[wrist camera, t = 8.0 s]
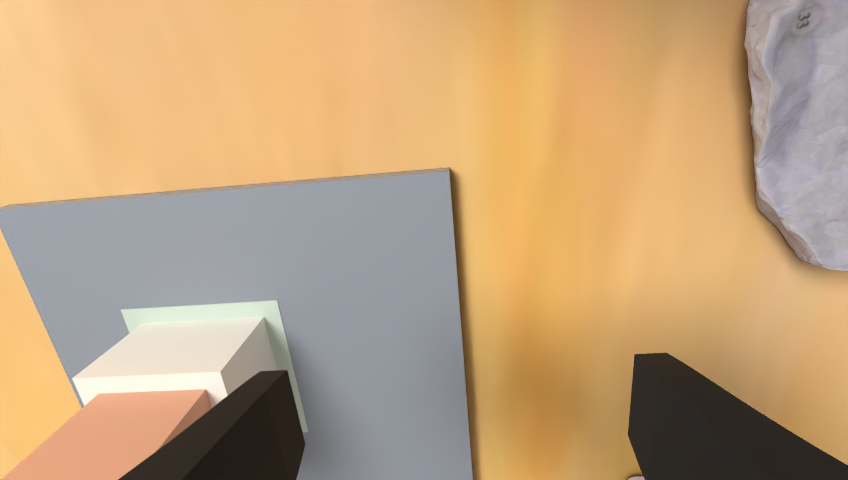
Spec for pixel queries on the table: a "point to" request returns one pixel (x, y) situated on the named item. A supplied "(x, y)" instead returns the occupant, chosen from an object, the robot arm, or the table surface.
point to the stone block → (801, 123)
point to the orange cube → (113, 435)
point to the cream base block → (181, 359)
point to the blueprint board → (281, 300)
